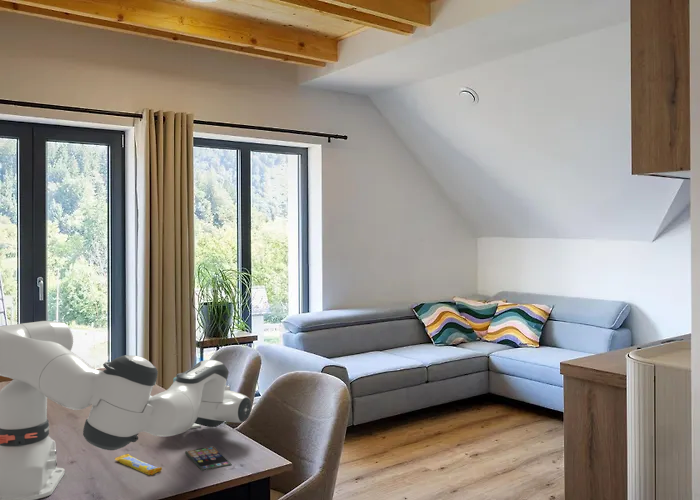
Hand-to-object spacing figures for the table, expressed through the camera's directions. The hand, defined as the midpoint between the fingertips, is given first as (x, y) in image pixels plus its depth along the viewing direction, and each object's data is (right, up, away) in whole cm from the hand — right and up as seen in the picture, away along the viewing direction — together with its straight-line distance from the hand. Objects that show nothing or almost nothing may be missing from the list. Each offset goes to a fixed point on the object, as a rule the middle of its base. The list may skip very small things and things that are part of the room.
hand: (180, 394), depth 204 cm
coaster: (+1, -10, 0) cm, 10 cm away
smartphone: (+16, -11, -31) cm, 36 cm away
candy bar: (-1, -11, -36) cm, 38 cm away
